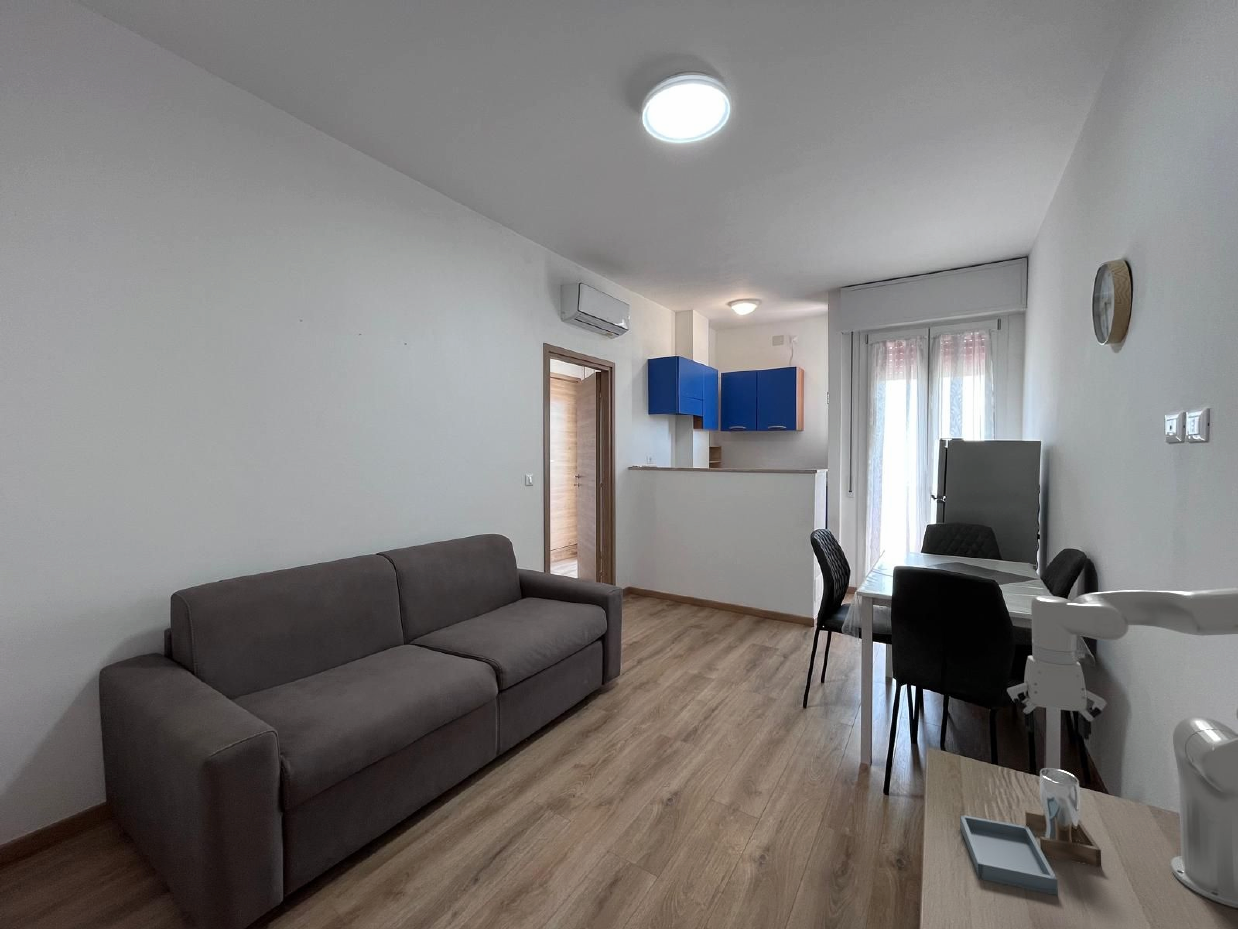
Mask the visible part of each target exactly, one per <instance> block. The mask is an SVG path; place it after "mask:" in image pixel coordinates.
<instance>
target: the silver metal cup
mask: <svg viewBox="0 0 1238 929" xmlns="http://www.w3.org/2000/svg"><path fill="white" fill-rule="evenodd" d="M1038 784H1039V786H1038V787H1039V788H1038V789H1039V798H1040V804H1041V808H1042V813H1043V814H1044V818H1045V824H1046V828H1045V831H1044V835H1043V837H1045V838H1050V839H1056V840H1061V841H1067V842H1072V843H1078V844H1079V839H1078V838H1077V827H1078V822H1079V820H1080V816H1081V809H1082V798H1081V791H1080V790H1081V789H1080V780H1079V779H1078V778H1077V777H1076V776H1075V775H1074V774H1072V773H1070V772H1068V771H1066V770H1063V769H1060V768H1059V769H1058V768H1055V767H1054V768H1053V767H1044V768H1041V769H1040V771H1039V782H1038Z"/></svg>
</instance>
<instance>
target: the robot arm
mask: <svg viewBox="0 0 1238 929" xmlns="http://www.w3.org/2000/svg"><path fill="white" fill-rule="evenodd" d="M1030 603H1031V606H1030V607H1031V611H1030V612H1031V646H1032V648H1031V649H1032V655H1028V656H1027V657H1026V658H1027V659H1026V664H1025V669H1024V678H1023V679H1024V680H1023V683H1020V684H1017V685H1015V686H1011V687H1007V688H1006V692H1007V693H1008V695H1009V696H1010V698H1011V699H1012V701H1013V703H1014V704H1015V705H1016V706H1017V707H1018V708H1019V709H1020V710H1021V716H1022V718H1021V720H1022V725H1023V727H1025V728H1026V729H1027V731H1028V732H1029V733H1034V732H1035V731H1034V715H1033V712H1032V711H1034V709H1036V708H1037V707H1040V708H1048V709H1055V710H1062V711H1063V710H1064V711H1070V712H1071V711H1074V712H1079V713H1080V714H1078V715H1077V723H1078V724H1077V725H1078V726H1077V728H1078V729H1077V730H1078V734H1079V735H1080V736H1081V738H1082V739H1084V740H1086V741H1089V740H1090V735H1092V722H1093V721H1094V720H1095V718H1097V717H1098V716H1099V715H1100V714H1101V713H1102V710H1104V708H1105V707H1106V706H1107V704H1108V703H1107V701H1106V699H1104V698H1102V697H1100V696H1099V695H1097V694H1095V693H1092V692H1090V691H1089V690H1087V689H1086V683H1085V682H1086V681H1085V677H1084V673H1083V669H1082V668H1083V667H1082V666H1081V663H1080V662H1079V659H1085V658H1086V654H1085V651H1081V650H1079V649H1078V647H1077V636H1081V637H1085V638H1090V639H1094V640H1099V641H1106V642H1107V641H1108V642H1111V641H1117V640H1119V639H1122V638H1124V637H1125V636H1126V635H1127V633H1128V631H1129V626H1142V627H1143V626H1147V627H1155V628H1161V629H1162V628H1163V629H1167V630H1170V631H1173V632H1178V633H1181V634H1182V633H1183V634H1188V635H1193V636H1202V637H1203V636H1223V635H1224V636H1226V635H1238V587H1228V588H1212V589H1211V588H1210V589H1198V590H1197V589H1196V590H1183V591H1182V590H1181V591H1178V590H1117V591H1116V590H1115V591H1103V592H1089V593H1084V594H1081V595H1079V596H1077V597H1075V598H1074V599H1072V601H1071V600H1070V599H1067V598H1064V597H1060V596H1054V595H1038V596H1037V595H1036V596H1034V597H1033V598H1032V600H1031V602H1030ZM1021 693H1023V694H1024V696H1025V699H1024V700H1021V699H1020V698H1019V696H1018V695H1019V694H1021ZM1088 699H1089V700H1091V701H1092V702H1094V703H1093V705H1091V706H1090V707H1087V706H1088ZM1235 715H1236V718H1237V720H1238V708H1237V709H1236V714H1235ZM1172 744H1173V745H1172V746H1173V751H1174V757H1175V761H1176V767H1177V777H1178V800H1179V805H1178V806H1179V828H1180V831H1179V832H1180V834H1179V835H1180V852H1181V853H1180V856H1175V857H1173V858H1172V859H1171V860H1170V868H1171V872H1172V874H1173V875H1174V877H1176V878H1177V879H1178V880H1179V881H1180V882H1181V883H1182V884H1184V885H1185V886H1186V887H1188V888H1189V889H1190V890H1192V891H1193V892H1196V893H1198V894H1199V895H1201V896H1203V897H1205V898H1207V899H1210V900H1211V901H1214V902H1217V903H1219V904H1222V905H1225V906H1228V907H1232V908H1234V909H1235V908H1236V909H1238V733H1237V732H1236V731H1235V730H1233V729H1231V728H1230V727H1229V726H1227V725H1226V724H1224V723H1221V722H1220V721H1218V720H1215V719H1212V718H1209V717H1204V716H1192V717H1187V718H1184V719H1183V720H1181V721H1180V722H1179V723H1177V725H1176V726H1175V728H1174V730H1173V734H1172Z"/></svg>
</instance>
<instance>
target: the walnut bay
mask: <svg viewBox="0 0 1238 929" xmlns="http://www.w3.org/2000/svg"><path fill="white" fill-rule="evenodd" d="M1024 812H1025V814H1024V815H1025V826H1026V827H1029V829H1030V830H1036V831H1042V832H1045V828H1046V824H1045V818H1044V813H1043V812H1037V811H1031V810H1024ZM1077 840H1078V841H1079V840H1080V841H1079V842H1080V843H1079V842H1078V843H1072V842H1067V841H1061V840H1056V839H1050V838H1045V837H1044V836H1040V837H1039V841H1040V842H1039V844H1040V845H1039V847H1040V849H1041V851H1042V853H1043V854H1044V856H1045V857H1048V858H1054V859H1058V860H1064V861H1068V862H1073V863H1077V862H1078V864H1082V863H1085V864H1084V865H1088V864H1089V865H1088V866H1093V865H1095V866H1094V867H1098V866H1101V867H1102V852H1101V851H1102V849H1101V848H1100V846H1098V844H1097V842H1096V841H1095V839H1094V838H1093V836H1092V835H1091V834H1090V832H1089V831H1088V830H1087V828H1086V827H1085V825H1084V824H1083V822H1082V821H1081V820H1080V819H1079V822H1078V827H1077ZM1081 843H1082V844H1081ZM1079 862H1080V863H1079Z"/></svg>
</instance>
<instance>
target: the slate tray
mask: <svg viewBox="0 0 1238 929" xmlns="http://www.w3.org/2000/svg"><path fill="white" fill-rule="evenodd" d="M959 826H960V831H961V833H962V836H963V840H964V842H965V845H966V847H967V850H968V853H969V856H970V858H971V861H972V864H973V866H974V869H975V873H976V875H977V878H978V879H980V880H986V881H990V882H995V883H999V884H1004V885H1009V886H1013V887H1017V888H1018V887H1019V888H1022V889H1025V890H1026V889H1027V890H1031V891H1036V892H1040V893H1045V894H1051V895H1054V896H1059V894H1058V893H1059V887H1058V882H1059V881H1058V878H1057V877H1056V874H1055V872H1054V871H1053V869H1052V867H1051V866H1050V864H1049V861H1048V859H1047V858H1046V856H1044V854H1043V853H1042V851H1041V849H1040V845H1039V844H1038V842H1037V840H1036V838H1035V836H1034V835H1033V832H1032V830H1031V829H1030V828H1029V827H1026V825H1021V824H1020V825H1019V824H1015V823H1010V822H1009V823H1008V822H1003V821H998V820H991V819H988V818H980V817H975V816H970V815H965V814H959Z"/></svg>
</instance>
